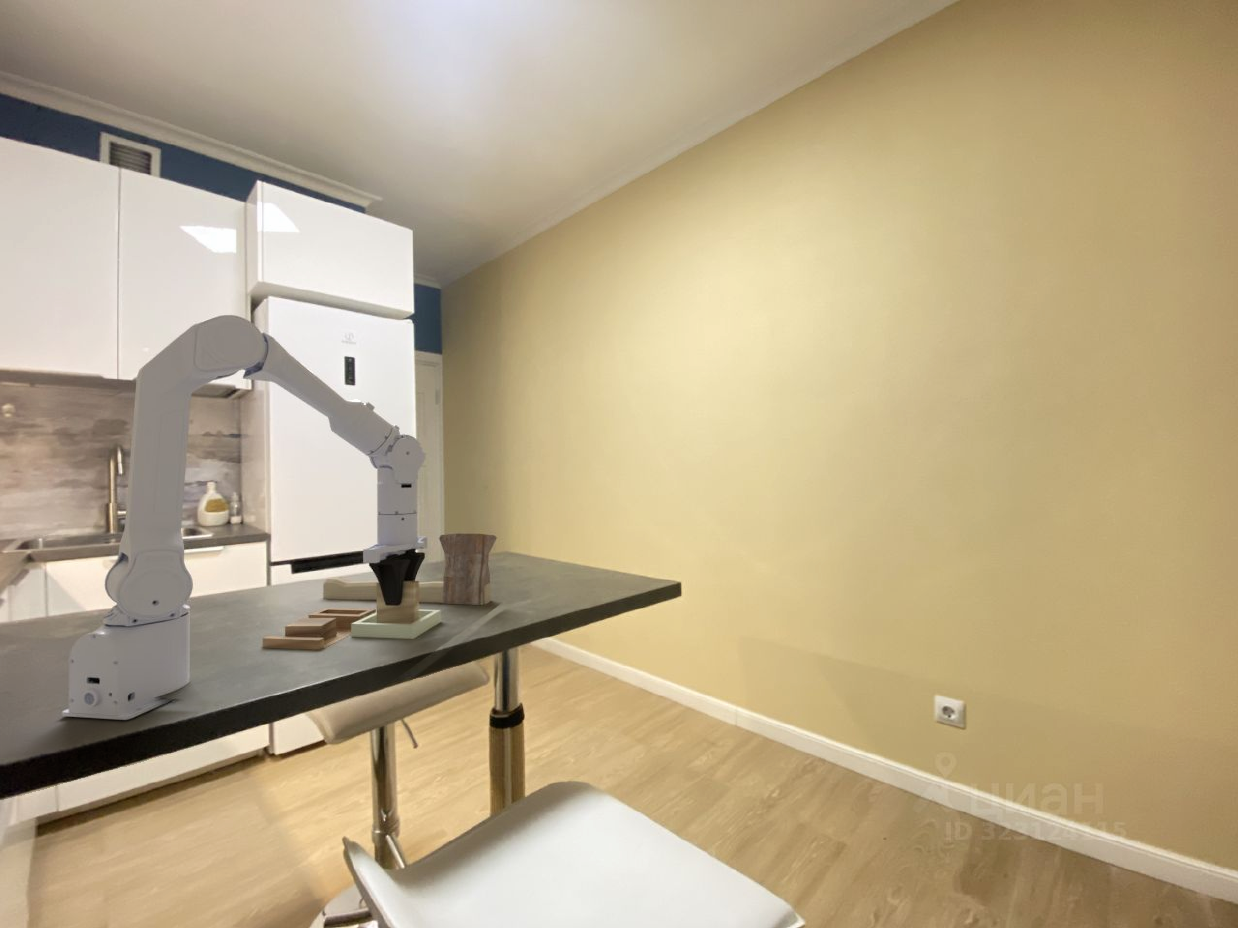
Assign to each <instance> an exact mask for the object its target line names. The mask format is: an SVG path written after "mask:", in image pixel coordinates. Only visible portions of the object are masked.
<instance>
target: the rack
mask: <svg viewBox="0 0 1238 928" xmlns="http://www.w3.org/2000/svg"><path fill="white" fill-rule="evenodd" d="M376 612H377V608H359V607H358V608H355V607H354V608H350V607H325V608H322V609H319V610H317V611H315V612H312V613H310V614H308V618H336V626H335V627H337V635H336V636H334V637H331V638H329V639H327V640H325V641H324V638H312V637H285V635H284V636H282V635H281V636H280V635H279V636H278V635H267V636H265V637H262V646H261V648H267V649H268V648H269V649H272V648H273V649H293V650H294V649H296V650H298V649H299V650H323V649H325V648H327V647H330V646H331V645H334V644H335V643H338V642H339V641H342V640H344V639H346V638H347V637H351V624H352V623H354V622H356V621H358V620H361V619H363V618H365V617H367V616H369V615H371V614H374V613H376Z"/></svg>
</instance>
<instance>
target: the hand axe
mask: <svg viewBox="0 0 1238 928" xmlns="http://www.w3.org/2000/svg"><path fill="white" fill-rule="evenodd" d="M438 539H439V542H440V545H441V547H442V548H441V549H443V553H444V559H445V560H444V561H445V563H444V564H445V567H444V573H443V580H442V581H440V580H439V581H425V582H419V603H433V604H434V603H435V604H436V603H441V604H448V605H449V604H451V605H452V604H453V605H479V606H481V605H482V606H483V605H487V604H489V603H490V602H491V601H492V599H491V597H492V596H491V577H490V575H491V574H490V566H489V555H490V553H491V550H492V548H493V547H494V544H495V542H496V540H497V536H496V535H495V534H494V535H492V534H484V533H448V534H447V533H446V534H441V535H440V536H439V538H438ZM377 582H378V580H365V581H364V580H363V581H362V580H361V581H359V580H358V581H351V580H348V579H346V578H343V577H330V578H326V580H324V582H323V584H322V590H323V591H322V598H323V599H325V600H350V601H351V600H359V601H360V600H362V601H377Z"/></svg>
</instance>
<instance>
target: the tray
mask: <svg viewBox="0 0 1238 928" xmlns="http://www.w3.org/2000/svg"><path fill="white" fill-rule="evenodd" d="M441 622H442V609H421V608H419V620H417V621H415V622H414V623H412V624H394V623H377V611H376V613H374V614H371V615H369V616H367V617H365V618H363V619H361V620H358V621H356V622H354V623H352V624H351V635H350V637H353V638H381V639H382V638H383V639H408V640H409V639H412V640H414V639H415V638H417V637H419V636H420V635H421V634H423V633H425V632H427V631H428V630H430V629H432V628H433V627H435V626H437V625H438V624H440V623H441Z"/></svg>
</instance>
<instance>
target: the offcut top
mask: <svg viewBox="0 0 1238 928" xmlns="http://www.w3.org/2000/svg"><path fill="white" fill-rule="evenodd" d="M335 626H336V618H309V617H305V618H304V617H302V618H300V619H298V620H296V621H293V622H292V623H290V624H288V625H287V624H286V625H285V626H284V628H285V629H284V631H285V632H284V636H285V635H321V634H323V633H325V632H327V631H328V630H330V629H332V628H334V627H335Z"/></svg>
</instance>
